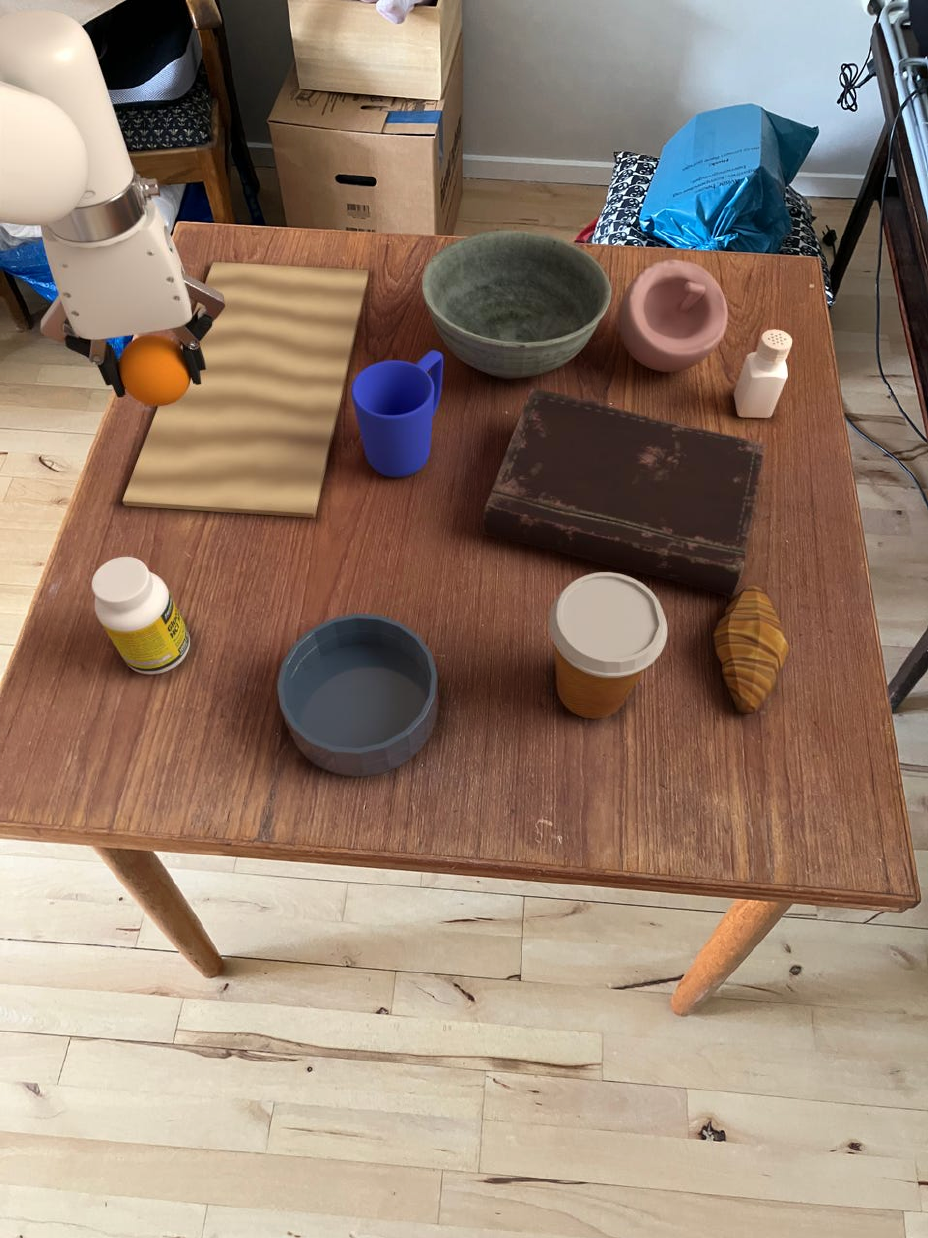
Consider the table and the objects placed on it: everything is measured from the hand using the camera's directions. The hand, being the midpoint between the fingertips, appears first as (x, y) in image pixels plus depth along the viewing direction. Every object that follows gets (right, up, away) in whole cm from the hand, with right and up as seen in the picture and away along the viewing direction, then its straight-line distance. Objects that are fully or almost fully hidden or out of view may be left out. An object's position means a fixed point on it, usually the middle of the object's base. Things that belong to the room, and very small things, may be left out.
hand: (158, 379), depth 83 cm
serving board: (+5, +5, +19) cm, 20 cm away
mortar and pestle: (+52, +8, +21) cm, 57 cm away
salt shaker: (+61, +1, +17) cm, 64 cm away
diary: (+45, -11, +9) cm, 47 cm away
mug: (+23, -4, +13) cm, 27 cm away
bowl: (+34, +9, +22) cm, 42 cm away
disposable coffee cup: (+40, -29, -3) cm, 50 cm away
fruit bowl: (+20, -30, -4) cm, 36 cm away
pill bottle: (0, -25, -1) cm, 25 cm away
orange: (0, +1, -1) cm, 1 cm away
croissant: (+55, -26, -1) cm, 61 cm away
